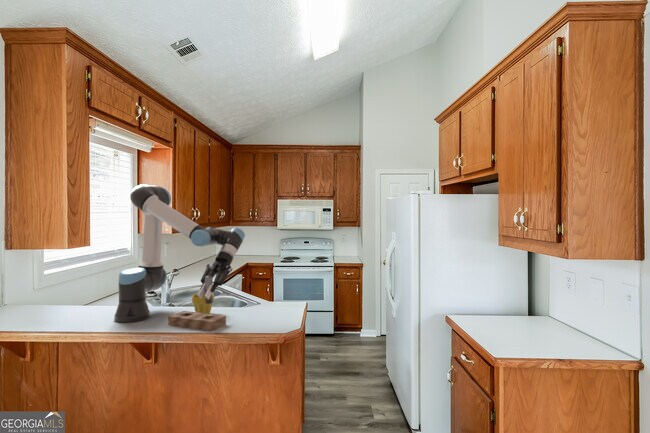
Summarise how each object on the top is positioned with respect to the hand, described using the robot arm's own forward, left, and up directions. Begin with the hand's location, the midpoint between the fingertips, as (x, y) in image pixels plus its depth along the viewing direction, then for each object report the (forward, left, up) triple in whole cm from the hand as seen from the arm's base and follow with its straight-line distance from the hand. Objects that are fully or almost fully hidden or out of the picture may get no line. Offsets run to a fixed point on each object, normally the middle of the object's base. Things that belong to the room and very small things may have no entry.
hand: (203, 297), depth 162 cm
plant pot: (-15, +19, -14) cm, 28 cm away
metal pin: (0, +4, -3) cm, 5 cm away
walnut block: (-6, +4, -14) cm, 16 cm away
